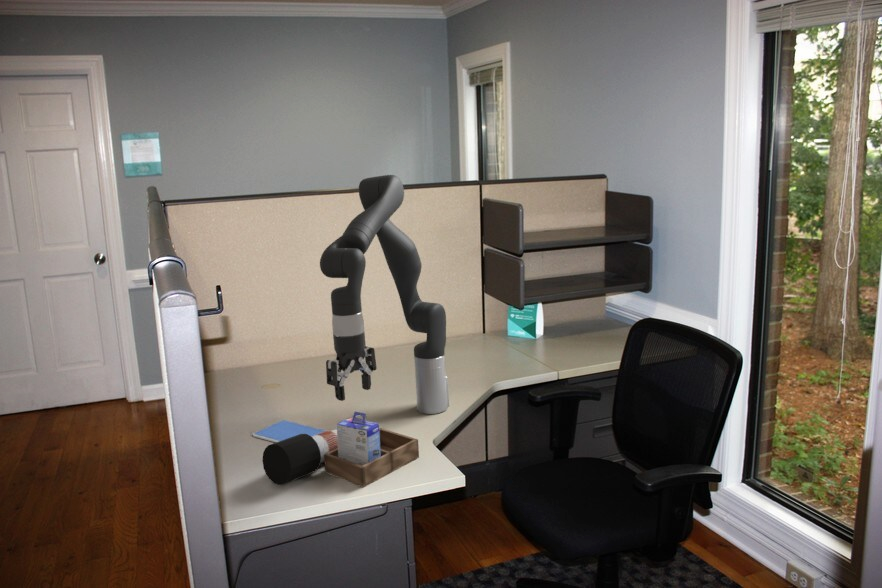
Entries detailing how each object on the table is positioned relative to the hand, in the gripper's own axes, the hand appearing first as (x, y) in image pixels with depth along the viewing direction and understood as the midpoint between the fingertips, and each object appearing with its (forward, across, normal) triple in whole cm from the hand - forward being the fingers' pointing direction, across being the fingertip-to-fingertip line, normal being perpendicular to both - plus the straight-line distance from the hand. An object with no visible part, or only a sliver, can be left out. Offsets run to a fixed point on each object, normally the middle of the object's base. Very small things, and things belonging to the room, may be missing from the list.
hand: (353, 394), depth 178 cm
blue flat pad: (+21, -5, -34) cm, 40 cm away
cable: (+21, +1, -12) cm, 24 cm away
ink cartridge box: (+20, 0, 0) cm, 20 cm away
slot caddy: (+21, -5, 0) cm, 21 cm away
